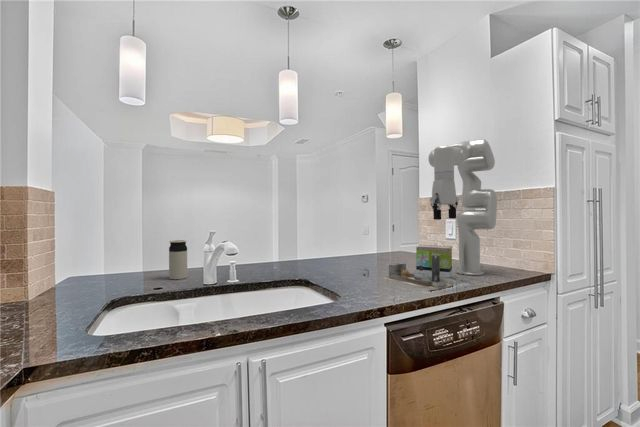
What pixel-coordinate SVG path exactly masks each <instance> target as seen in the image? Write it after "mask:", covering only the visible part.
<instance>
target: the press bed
mask: <svg viewBox="0 0 640 427" xmlns="http://www.w3.org/2000/svg"><path fill="white" fill-rule="evenodd" d="M402 270H407V263H406V262H397V263H389V264H388V276H387V277H386V276H385V277H383V279H384V280H388V281H389V280H390V281H394V282H398V283H403V284H408V285H411V286H416V287H420V288H425V289H429V290H428V292H429V291H430V292H429V293H432V291H434V292H438V291H441V290H442V289H443V290H447V289H450V288H451V287H452V288H454V284H453V283H449V282H448V285H443V286H439V287H435V286H430V282H426V281H421V280H416V279H415V273H410V272H409V273H410V276H409V278H406V277H401V271H402ZM429 278H432V276H429ZM440 279H441V278H440ZM441 280H444V279H441ZM446 288H447V289H446ZM437 290H438V291H437Z"/></svg>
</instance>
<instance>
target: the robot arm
mask: <svg viewBox="0 0 640 427" xmlns="http://www.w3.org/2000/svg"><path fill="white" fill-rule="evenodd" d="M428 164H429V165H430V166H431V167H432V168H433V170H434V173H433V174H434V180H433V182H432V188H431V189H432V190H431V197H430V198H429V201H430V202H429V203H430V206H431V207H432V210H433V220H435V221H437V220H439V221H441V220H442V209H441V207H442V205H446V206H447V207H448V219H456V225H457V230H458V269H456V270H455V273H456V274H458V273H459V274H458V275H462V274H464V275H463V276H472V275H477V276H483V275H485V274H484V271H483V270H481V269H484V267H485V265H484V264H482V263H481V240H480V236H479V234H478V233H477V232H476V231H475V230H488V231H489V230H494V229H495V227H496V224H497V212H498V211H497V210H498V196H497V193H496V191H495V190H494V189H491V188H484V189H482V181H481V179H480V178H479V176H478V175H476V174H475V173H474V172H486V171H491V170H492V169H493V168H494V167H495V165H496V160H495V157H494V153H493V150H492V147H491V145H490V144H489V142H488V140H486V139H484V138H482V139H481V138H479V139H473V140H464V141H461V142H459V143H456V144H452V145H441V146H437V147H435V148H434V149H433V150H431V151H430V152H429V155H428ZM455 166H457V170H458V173H459V175H460V178H461V181H462V189H461V190H462V192H461V204H462V205H461V206H462V207H463V208H465V210H460V211H459V212H457V209H458V205H459V201H460V198H459V197H458V196H457V192H456V190H457V189H456V183H455ZM482 274H483V275H482Z"/></svg>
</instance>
